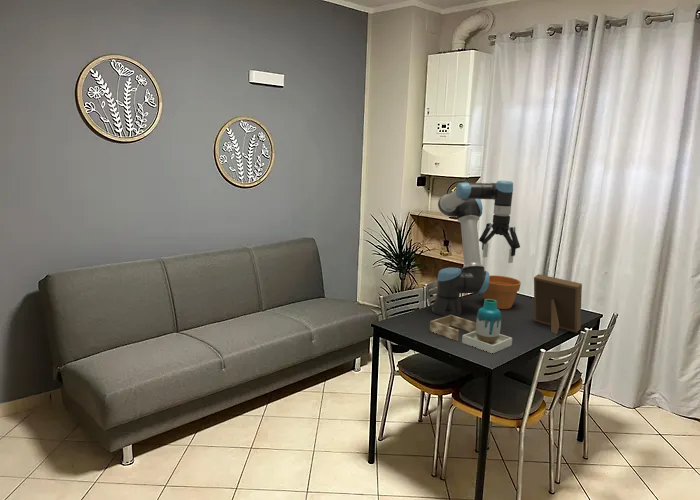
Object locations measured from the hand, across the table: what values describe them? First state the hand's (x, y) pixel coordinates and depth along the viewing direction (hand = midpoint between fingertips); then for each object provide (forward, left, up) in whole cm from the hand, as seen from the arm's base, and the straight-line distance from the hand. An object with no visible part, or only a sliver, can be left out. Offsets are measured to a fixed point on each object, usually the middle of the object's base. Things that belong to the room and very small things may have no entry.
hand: (497, 259), depth 246 cm
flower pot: (-20, +39, -35) cm, 56 cm away
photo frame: (+17, +28, -35) cm, 48 cm away
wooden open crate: (-9, -17, -35) cm, 40 cm away
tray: (+9, -17, -35) cm, 40 cm away
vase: (+9, -17, -34) cm, 39 cm away
